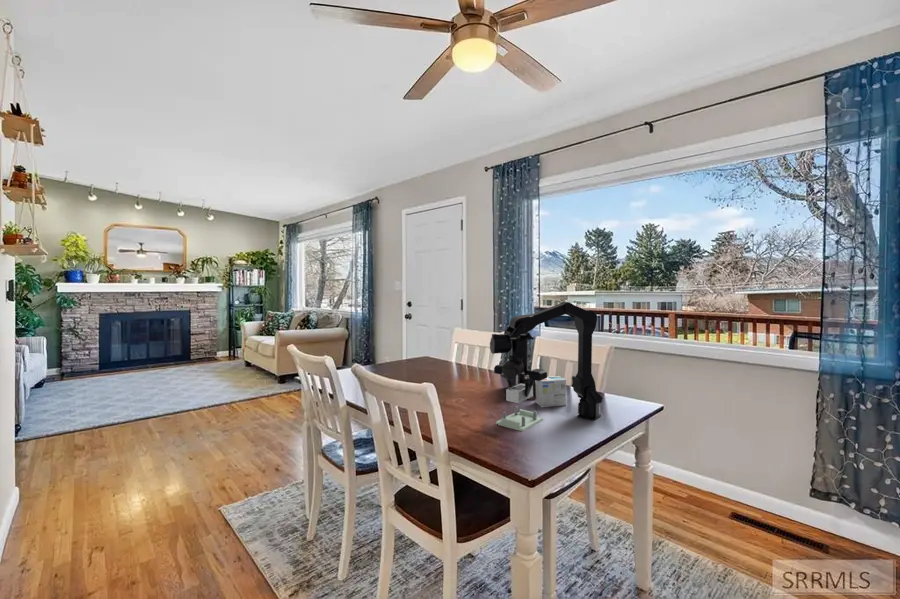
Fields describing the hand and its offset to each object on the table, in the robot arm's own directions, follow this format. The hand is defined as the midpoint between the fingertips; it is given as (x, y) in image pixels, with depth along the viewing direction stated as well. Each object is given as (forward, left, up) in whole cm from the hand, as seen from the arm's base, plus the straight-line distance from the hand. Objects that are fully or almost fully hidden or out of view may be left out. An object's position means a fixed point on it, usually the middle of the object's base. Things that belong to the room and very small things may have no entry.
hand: (519, 395), depth 149 cm
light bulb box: (+1, -26, -10) cm, 28 cm away
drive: (0, 0, -1) cm, 1 cm away
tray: (0, 0, -10) cm, 10 cm away
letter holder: (+19, -32, -10) cm, 39 cm away
